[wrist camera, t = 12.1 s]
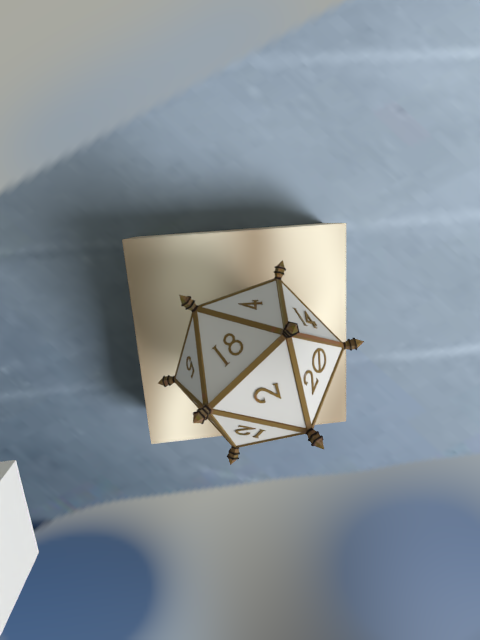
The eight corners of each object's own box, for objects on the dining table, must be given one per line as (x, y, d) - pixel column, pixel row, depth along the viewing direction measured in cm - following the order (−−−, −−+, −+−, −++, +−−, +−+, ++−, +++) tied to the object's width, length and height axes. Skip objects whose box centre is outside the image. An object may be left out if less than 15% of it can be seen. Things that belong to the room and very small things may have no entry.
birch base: (158, 412, 27) (151, 443, 23) (134, 236, 24) (122, 239, 20) (325, 393, 28) (346, 421, 24) (323, 223, 25) (346, 223, 21)
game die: (235, 292, 25) (291, 187, 16) (328, 389, 24) (443, 335, 15) (123, 382, 21) (114, 310, 12) (228, 502, 20) (303, 519, 11)
